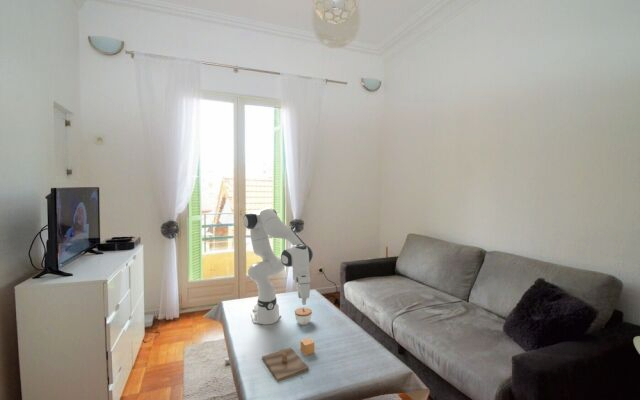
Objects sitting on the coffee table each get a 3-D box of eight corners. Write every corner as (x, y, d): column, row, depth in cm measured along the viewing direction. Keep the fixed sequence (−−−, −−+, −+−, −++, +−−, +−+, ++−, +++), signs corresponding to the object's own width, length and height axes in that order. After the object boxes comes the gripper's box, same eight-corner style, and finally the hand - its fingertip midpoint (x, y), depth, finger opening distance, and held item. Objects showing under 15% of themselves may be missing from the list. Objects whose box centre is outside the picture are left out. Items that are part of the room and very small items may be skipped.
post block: (262, 359, 152) (261, 349, 151) (290, 349, 160) (290, 340, 160) (277, 382, 135) (277, 370, 134) (308, 370, 143) (308, 359, 143)
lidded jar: (312, 319, 195) (312, 305, 194) (310, 327, 184) (310, 312, 183) (296, 318, 196) (296, 304, 195) (293, 326, 185) (293, 311, 185)
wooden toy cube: (300, 350, 159) (300, 340, 159) (309, 347, 162) (309, 337, 162) (305, 355, 155) (305, 345, 154) (314, 352, 158) (314, 342, 157)
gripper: (291, 270, 167) (292, 294, 167) (299, 281, 147) (300, 309, 148) (302, 269, 168) (303, 293, 169) (311, 280, 149) (312, 307, 149)
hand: (302, 300), depth 158 cm, fingers open, 8 cm apart
